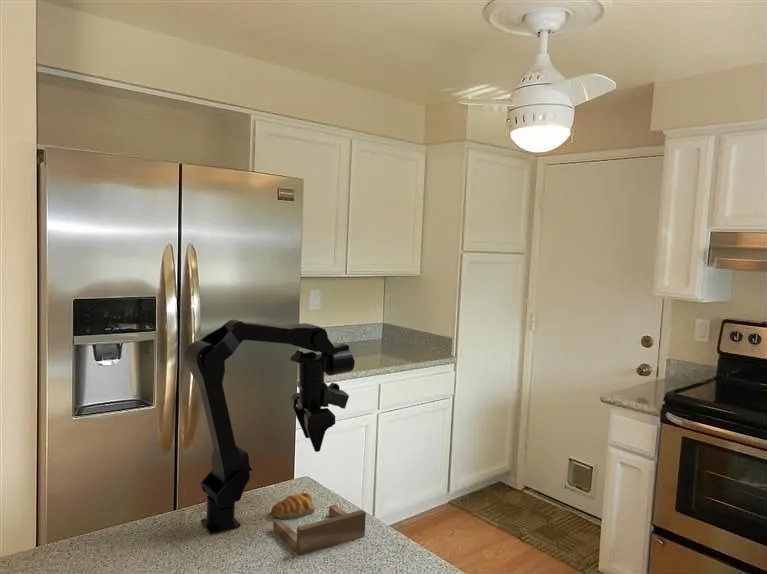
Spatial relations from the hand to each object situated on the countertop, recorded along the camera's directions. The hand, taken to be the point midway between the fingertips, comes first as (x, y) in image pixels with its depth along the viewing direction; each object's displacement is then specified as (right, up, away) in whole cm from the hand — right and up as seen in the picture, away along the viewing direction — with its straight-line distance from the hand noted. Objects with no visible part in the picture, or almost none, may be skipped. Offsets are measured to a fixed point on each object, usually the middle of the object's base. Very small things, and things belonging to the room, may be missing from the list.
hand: (312, 444), depth 136 cm
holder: (+3, -14, -14) cm, 20 cm away
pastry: (-3, -14, -6) cm, 15 cm away
